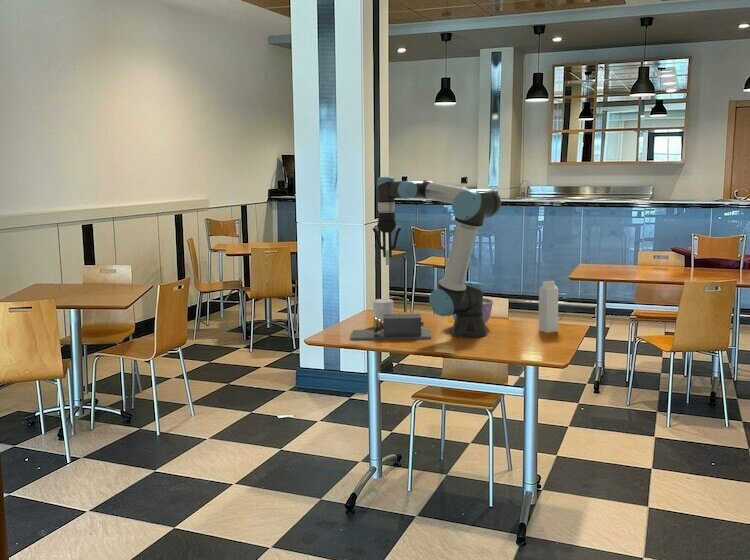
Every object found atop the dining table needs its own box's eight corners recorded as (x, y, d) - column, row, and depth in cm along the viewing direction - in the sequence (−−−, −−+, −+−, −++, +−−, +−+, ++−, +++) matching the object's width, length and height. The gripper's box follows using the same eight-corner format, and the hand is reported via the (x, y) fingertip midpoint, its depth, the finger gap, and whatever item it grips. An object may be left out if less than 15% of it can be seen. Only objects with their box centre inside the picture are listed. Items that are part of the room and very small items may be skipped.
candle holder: (394, 328, 334) (393, 302, 332) (372, 328, 334) (371, 302, 332) (393, 323, 343) (393, 298, 342) (373, 324, 344) (372, 299, 342)
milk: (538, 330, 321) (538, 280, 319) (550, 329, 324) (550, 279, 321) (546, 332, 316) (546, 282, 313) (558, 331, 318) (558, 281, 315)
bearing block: (350, 340, 311) (350, 320, 310) (353, 332, 327) (352, 313, 326) (430, 338, 310) (430, 319, 308) (429, 331, 325) (429, 312, 324)
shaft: (373, 334, 315) (373, 319, 314) (374, 330, 322) (374, 316, 321) (423, 333, 314) (423, 318, 313) (423, 330, 321) (423, 315, 320)
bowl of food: (490, 321, 344) (490, 297, 342) (496, 330, 324) (496, 304, 322) (447, 322, 344) (447, 297, 343) (451, 331, 325) (450, 305, 323)
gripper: (401, 211, 329) (402, 263, 332) (372, 211, 330) (373, 263, 333) (401, 212, 322) (402, 265, 325) (371, 212, 322) (372, 265, 325)
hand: (387, 264), depth 329 cm, fingers closed
